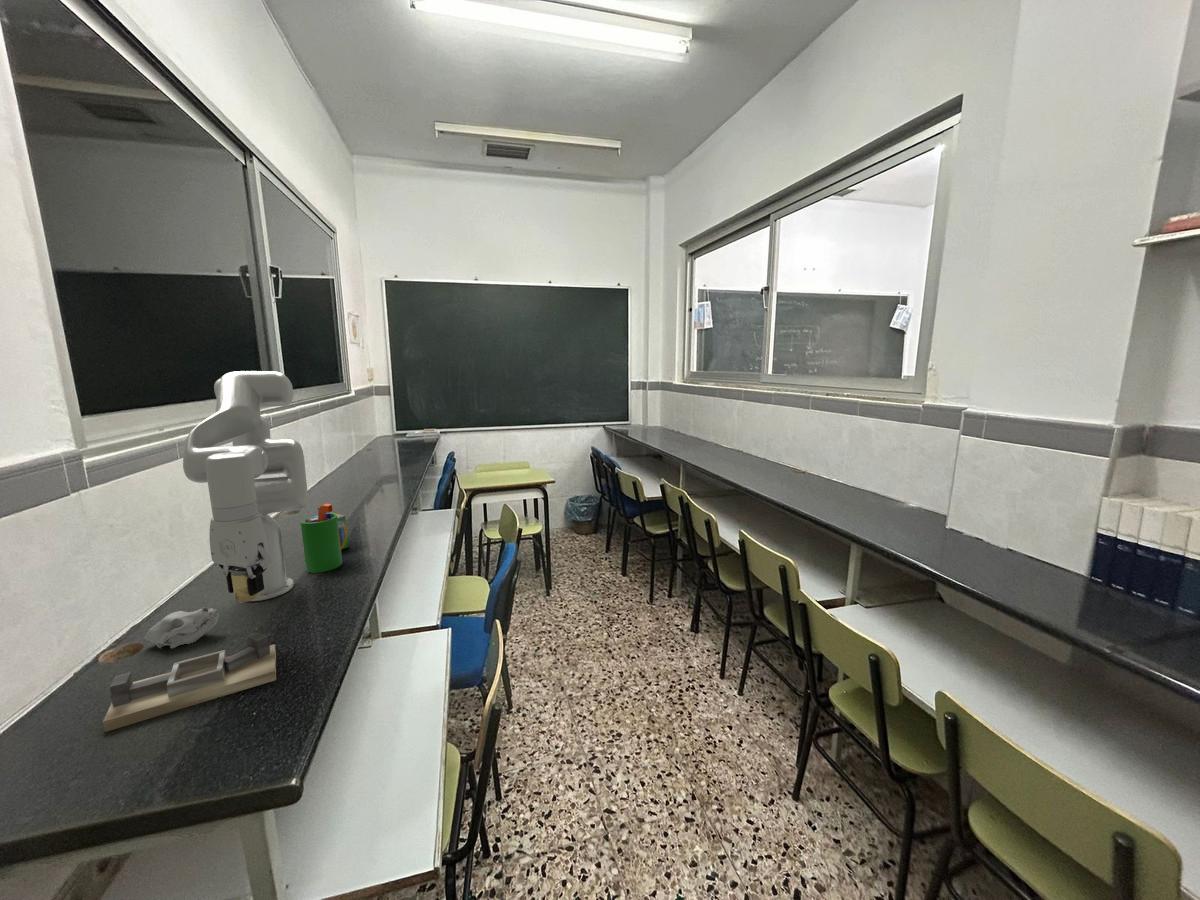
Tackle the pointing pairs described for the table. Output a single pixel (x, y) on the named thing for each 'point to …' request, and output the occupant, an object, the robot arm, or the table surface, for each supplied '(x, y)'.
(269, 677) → the stand
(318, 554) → the green cylindrical cup
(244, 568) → the gold cylinder
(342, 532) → the chalk box
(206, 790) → the table surface
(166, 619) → the skull
